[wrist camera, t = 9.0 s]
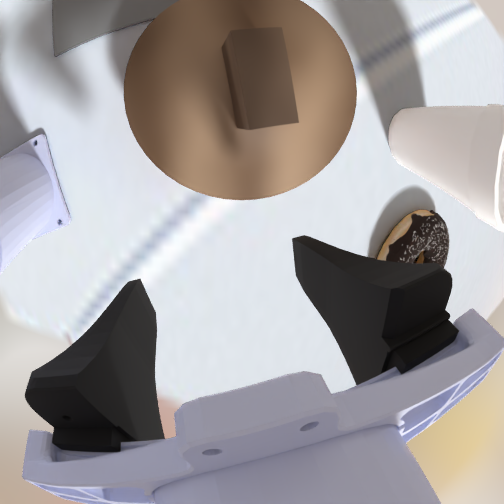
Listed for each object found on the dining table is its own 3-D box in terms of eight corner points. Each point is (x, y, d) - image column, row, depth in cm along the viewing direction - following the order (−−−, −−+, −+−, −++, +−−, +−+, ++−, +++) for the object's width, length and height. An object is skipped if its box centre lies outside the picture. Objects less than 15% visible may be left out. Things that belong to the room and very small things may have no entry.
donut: (355, 289, 30) (373, 310, 26) (396, 193, 25) (422, 205, 22) (410, 294, 33) (427, 310, 30) (446, 217, 29) (467, 229, 25)
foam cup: (395, 75, 19) (512, 81, 8) (445, 124, 22) (540, 152, 11) (362, 157, 22) (480, 205, 11) (417, 194, 26) (510, 247, 15)
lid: (158, 221, 16) (152, 249, 13) (112, 15, 10) (95, -10, 6) (358, 175, 18) (393, 190, 15) (330, -8, 11) (362, -27, 8)
